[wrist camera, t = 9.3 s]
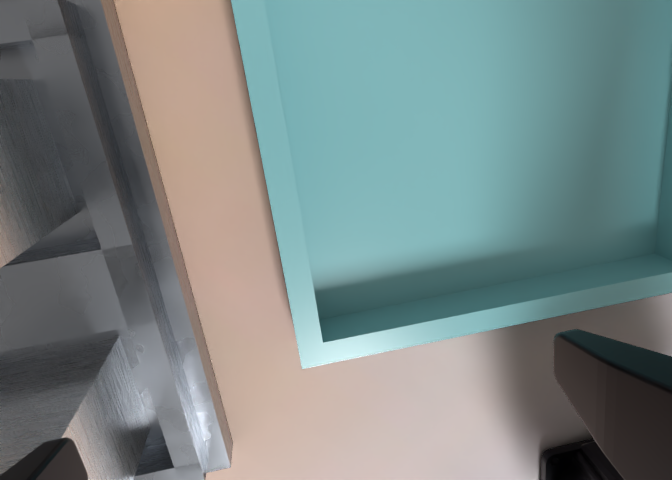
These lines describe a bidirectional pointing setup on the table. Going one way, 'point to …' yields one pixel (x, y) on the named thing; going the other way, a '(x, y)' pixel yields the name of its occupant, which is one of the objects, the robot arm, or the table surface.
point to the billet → (28, 172)
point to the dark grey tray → (109, 236)
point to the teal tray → (460, 161)
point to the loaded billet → (74, 407)
